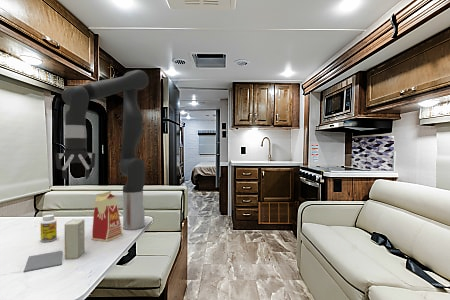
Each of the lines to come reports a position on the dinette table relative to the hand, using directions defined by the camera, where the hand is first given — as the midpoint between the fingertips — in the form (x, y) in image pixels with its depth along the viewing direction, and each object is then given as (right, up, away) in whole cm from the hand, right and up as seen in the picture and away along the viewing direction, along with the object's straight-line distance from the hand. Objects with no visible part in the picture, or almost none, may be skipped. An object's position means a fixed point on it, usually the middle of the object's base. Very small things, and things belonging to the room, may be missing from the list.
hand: (76, 179), depth 106 cm
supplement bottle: (-14, -26, +5) cm, 30 cm away
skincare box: (+5, -26, -11) cm, 29 cm away
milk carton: (+8, -26, +8) cm, 28 cm away
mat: (-2, -26, -15) cm, 30 cm away
